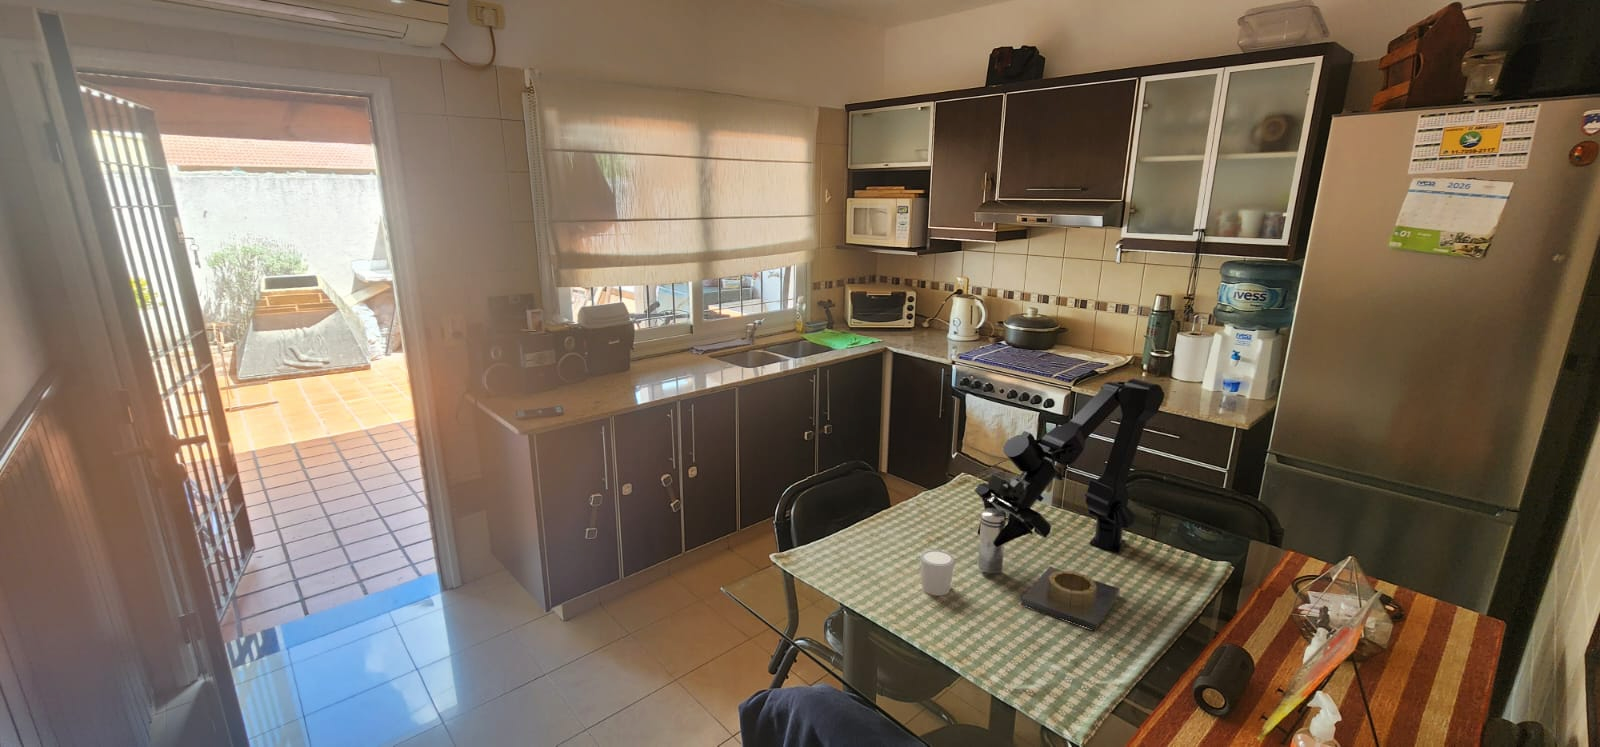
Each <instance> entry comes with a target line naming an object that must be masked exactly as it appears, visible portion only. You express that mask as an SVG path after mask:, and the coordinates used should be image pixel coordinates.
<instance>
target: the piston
mask: <svg viewBox="0 0 1600 747" xmlns="http://www.w3.org/2000/svg"><path fill="white" fill-rule="evenodd" d="M980 512H981V513H980V523H981V527H980V535H979V546H978V547H979V548H978V565H977V566H978V568H979V570H981V571H982V572H985V573H989V574H997V573H1000V572H1002V571H1003V567H1004V566H1003V565H1004V564H1003V563H1004V551H1005V544H1002V545H1000V546H998V547H996V546H995V545H994V542H995V540H996V538H997V537H998V536H999V534H1000V533H1001V531H1002V530H1003V529H1004V527H1005V526H1006V525H1007V521H1006V520H1007V519H1006V513H1005V512H1004V511H1002V510H1000V509H995V508H986V509H985V508H984V509H982V510H981V511H980Z"/></svg>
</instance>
